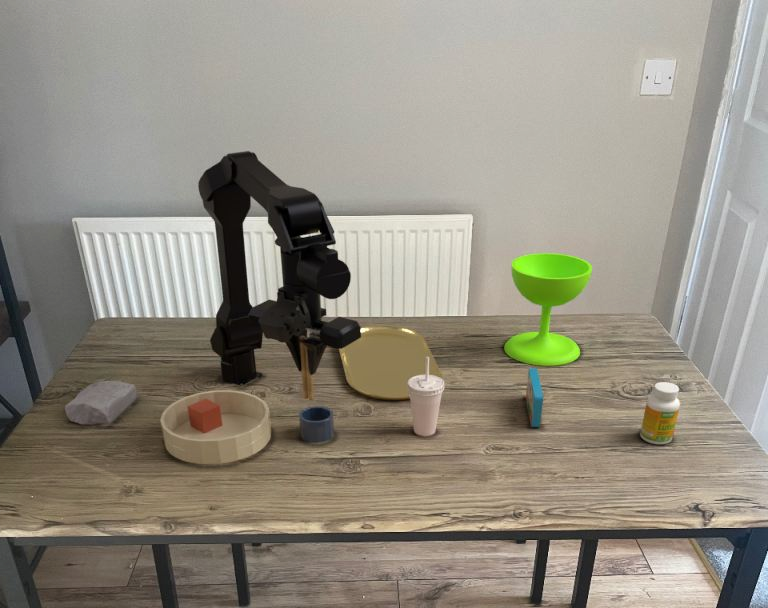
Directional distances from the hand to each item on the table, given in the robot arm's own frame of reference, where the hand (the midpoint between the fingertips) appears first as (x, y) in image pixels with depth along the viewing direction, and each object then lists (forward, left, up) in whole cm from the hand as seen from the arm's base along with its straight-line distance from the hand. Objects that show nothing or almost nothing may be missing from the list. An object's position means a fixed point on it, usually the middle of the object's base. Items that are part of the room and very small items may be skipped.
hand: (307, 372), depth 133 cm
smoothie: (-12, +16, -13) cm, 24 cm away
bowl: (+9, -13, -12) cm, 20 cm away
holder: (-1, +1, -12) cm, 12 cm away
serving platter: (-32, -5, -13) cm, 35 cm away
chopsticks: (0, 0, -5) cm, 5 cm away
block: (+8, -18, -12) cm, 22 cm away
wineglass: (-56, +19, -13) cm, 61 cm away
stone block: (+13, -39, -13) cm, 43 cm away
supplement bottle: (-32, +51, -13) cm, 62 cm away
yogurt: (-29, +29, -13) cm, 43 cm away
